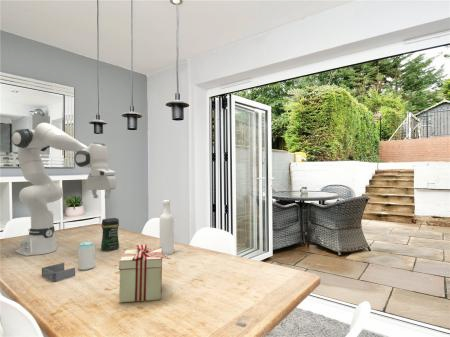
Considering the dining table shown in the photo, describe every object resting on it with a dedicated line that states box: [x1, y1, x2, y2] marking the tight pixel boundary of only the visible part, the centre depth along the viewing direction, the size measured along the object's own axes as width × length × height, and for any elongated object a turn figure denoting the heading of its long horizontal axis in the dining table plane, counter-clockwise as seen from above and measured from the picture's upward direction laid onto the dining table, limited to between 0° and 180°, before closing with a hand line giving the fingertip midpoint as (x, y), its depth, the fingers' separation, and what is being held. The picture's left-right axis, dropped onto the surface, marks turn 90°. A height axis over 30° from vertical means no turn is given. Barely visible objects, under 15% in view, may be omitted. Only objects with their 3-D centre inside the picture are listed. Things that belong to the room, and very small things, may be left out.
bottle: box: [159, 199, 175, 256], centre depth 159 cm, size 8×8×30 cm
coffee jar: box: [100, 217, 120, 252], centre depth 167 cm, size 10×8×19 cm
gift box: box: [118, 243, 171, 303], centre depth 108 cm, size 17×18×17 cm
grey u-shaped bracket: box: [41, 262, 76, 283], centre depth 125 cm, size 9×12×4 cm
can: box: [77, 241, 96, 271], centre depth 135 cm, size 7×7×12 cm
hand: (101, 198), depth 150 cm, fingers open, 8 cm apart
